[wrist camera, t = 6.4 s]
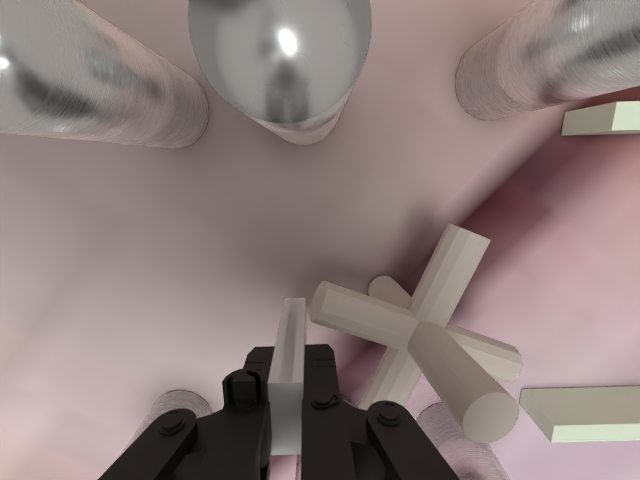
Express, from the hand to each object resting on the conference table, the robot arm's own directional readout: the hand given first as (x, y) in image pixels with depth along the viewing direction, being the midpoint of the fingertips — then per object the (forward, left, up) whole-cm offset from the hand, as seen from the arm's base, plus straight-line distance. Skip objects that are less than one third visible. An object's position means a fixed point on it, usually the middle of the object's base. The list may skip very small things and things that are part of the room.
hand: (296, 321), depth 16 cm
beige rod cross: (0, +5, -3) cm, 6 cm away
